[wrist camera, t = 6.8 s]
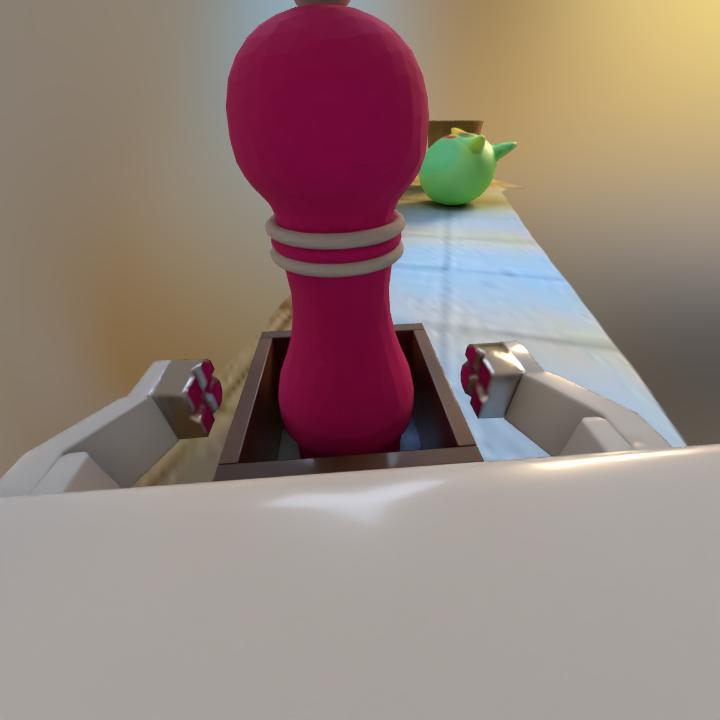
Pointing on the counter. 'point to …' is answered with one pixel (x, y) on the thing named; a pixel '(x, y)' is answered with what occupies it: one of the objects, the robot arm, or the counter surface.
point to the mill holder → (261, 443)
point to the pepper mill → (334, 210)
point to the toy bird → (460, 167)
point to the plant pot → (444, 128)
